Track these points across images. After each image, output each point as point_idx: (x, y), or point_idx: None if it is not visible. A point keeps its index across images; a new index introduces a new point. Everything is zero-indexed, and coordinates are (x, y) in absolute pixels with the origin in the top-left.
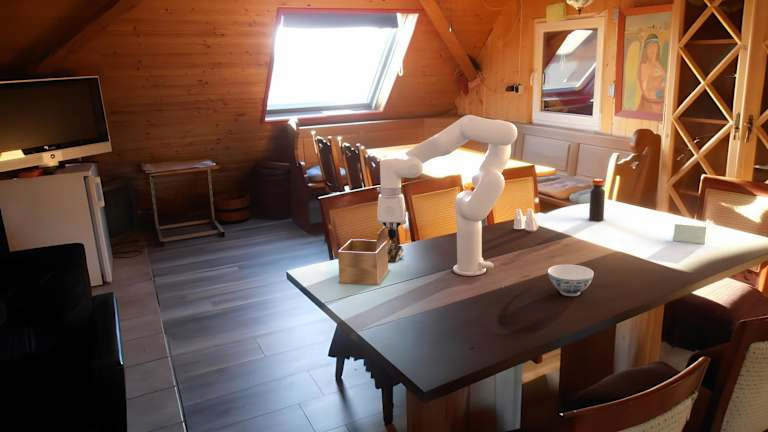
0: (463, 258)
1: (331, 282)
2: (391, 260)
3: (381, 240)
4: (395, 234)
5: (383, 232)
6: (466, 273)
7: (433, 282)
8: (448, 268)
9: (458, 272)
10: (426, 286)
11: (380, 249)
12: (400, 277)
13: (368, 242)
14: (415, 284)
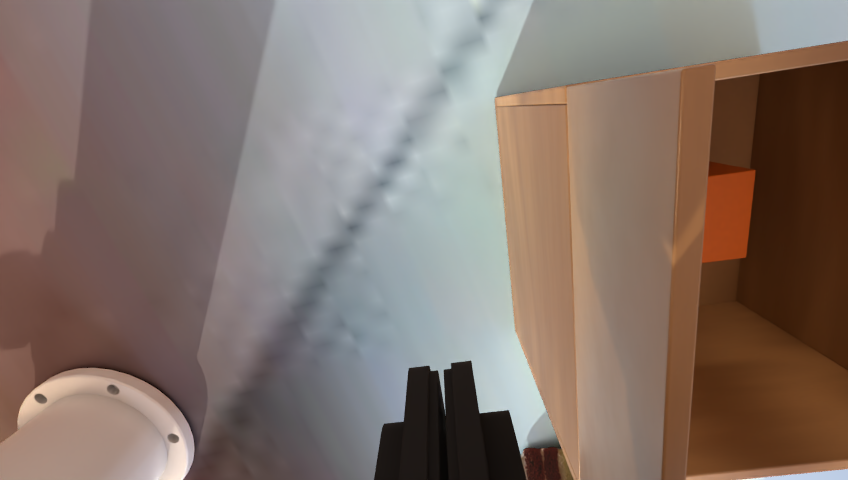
0: (30, 456)
1: None
2: (546, 451)
3: (590, 323)
4: (384, 455)
5: (620, 466)
6: (72, 375)
7: (196, 238)
8: (225, 436)
9: (123, 381)
10: (201, 168)
11: (566, 270)
12: (408, 257)
13: (759, 449)
14: (276, 179)
